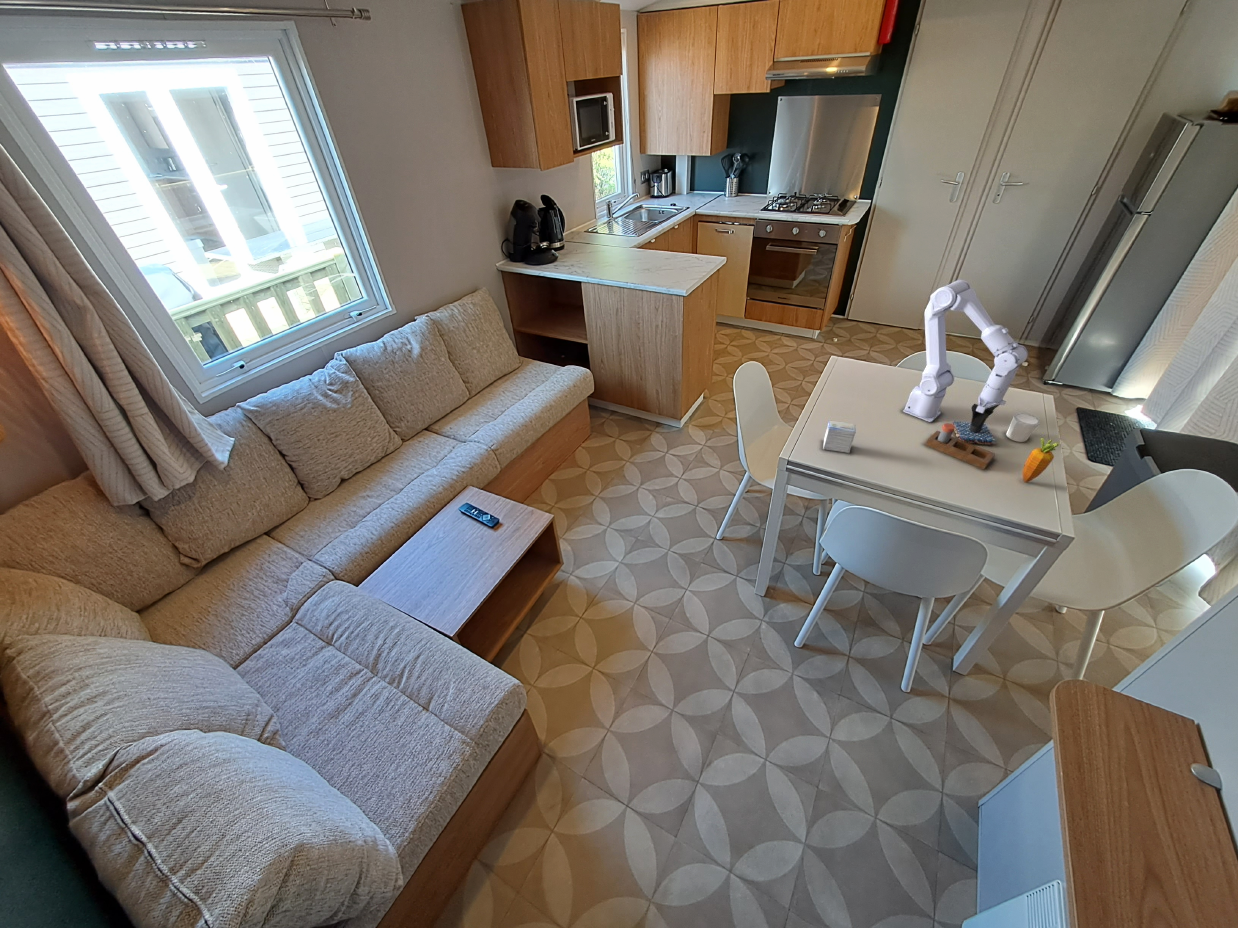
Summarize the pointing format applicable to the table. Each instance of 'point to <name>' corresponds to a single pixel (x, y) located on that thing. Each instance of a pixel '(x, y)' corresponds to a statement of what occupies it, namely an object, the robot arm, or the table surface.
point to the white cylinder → (1022, 427)
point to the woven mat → (973, 434)
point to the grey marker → (946, 433)
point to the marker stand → (962, 450)
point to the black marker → (977, 430)
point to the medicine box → (839, 436)
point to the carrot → (1038, 461)
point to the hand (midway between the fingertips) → (978, 422)
